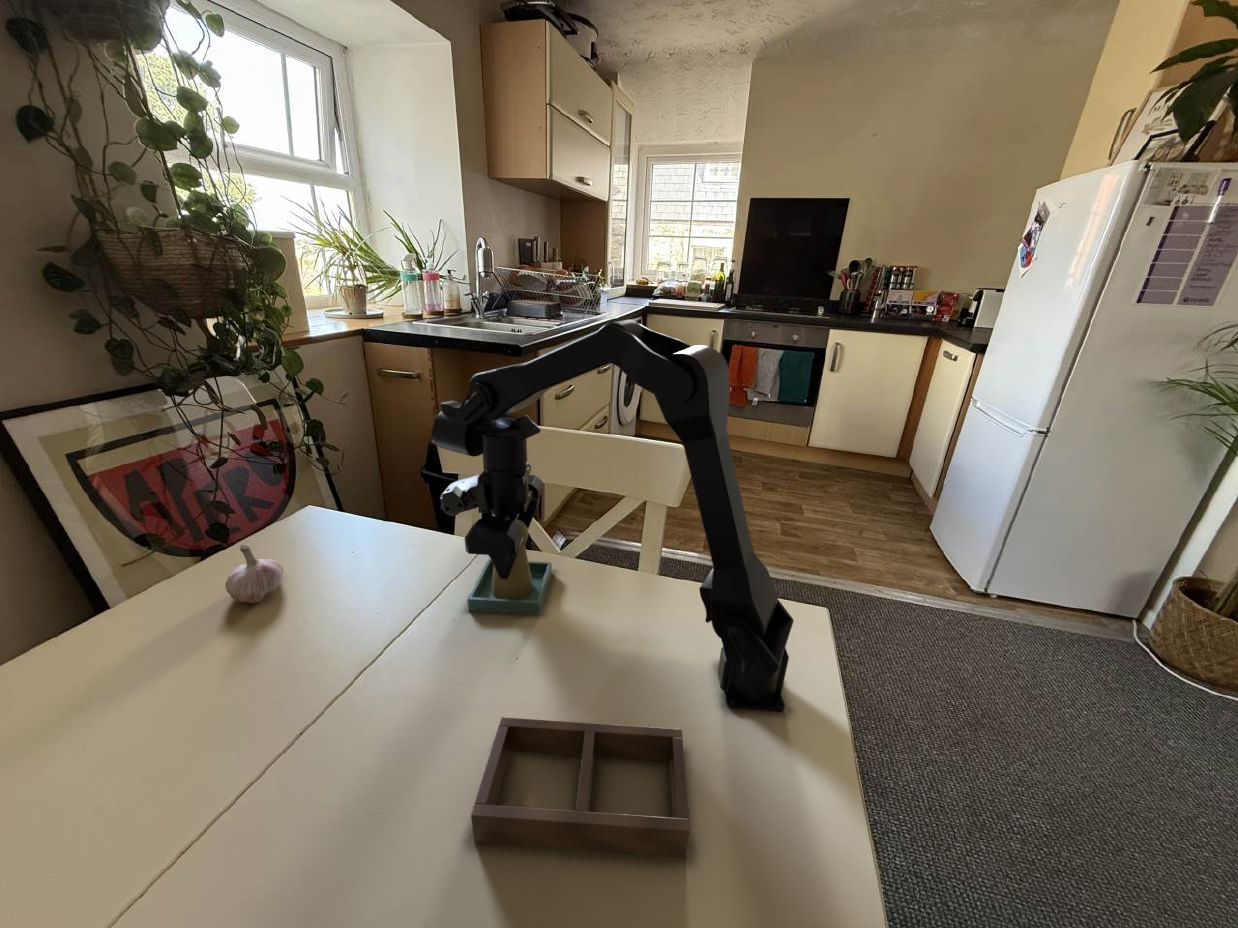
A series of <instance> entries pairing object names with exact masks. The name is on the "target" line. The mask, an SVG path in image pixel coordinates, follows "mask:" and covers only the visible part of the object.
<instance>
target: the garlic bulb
mask: <svg viewBox="0 0 1238 928" xmlns="http://www.w3.org/2000/svg"><path fill="white" fill-rule="evenodd" d="M239 550H240V552H241V553H242V554H243V556H244V559H245V562H246V563H244V564H240V565H238V566H237V567H236V568H234V569H233V570H231V572H229V574H228V576H227V579H226V581H225V583H224V584H225V587H224V588H225V590H226V592H227V593H228V594H229V596H230V598H231V599H233V600H234V601H236V602H241V603H242V602H246V603H248V604H255V603H256V604H257V603H259V602H260V601H262V600H263V598H264V597H265V595H266V594H267V593H270V592H272V591H274V590H275V589H277V588H278V587H279V586H280V585H281V582H282V580H283V575H284V572H285V569H284V566H283V565H282V563H281V562H279V561H278V560H274V559H262V558H258V559H257V558H256V557H255V555H254V553H253V552H252V550H251V547H250V546H249V545H248V544H245V543H244V544H240V546H239Z"/></svg>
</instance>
